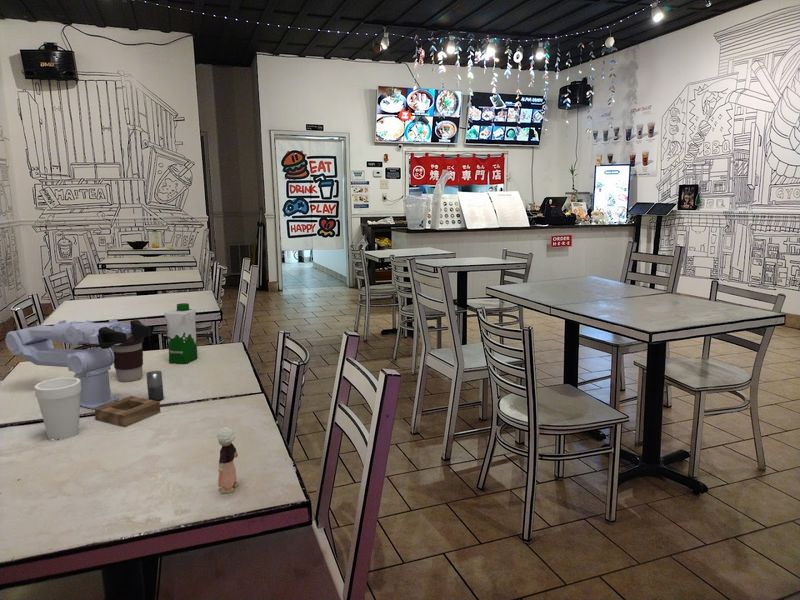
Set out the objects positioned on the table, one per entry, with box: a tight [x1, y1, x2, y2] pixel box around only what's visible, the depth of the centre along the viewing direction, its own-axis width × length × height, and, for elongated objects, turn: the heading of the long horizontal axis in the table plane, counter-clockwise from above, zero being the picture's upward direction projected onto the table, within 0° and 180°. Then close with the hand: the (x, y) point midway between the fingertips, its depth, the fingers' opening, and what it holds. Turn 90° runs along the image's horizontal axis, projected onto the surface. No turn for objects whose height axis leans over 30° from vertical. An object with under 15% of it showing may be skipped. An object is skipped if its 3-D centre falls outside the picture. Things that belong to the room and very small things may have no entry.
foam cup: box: [34, 376, 81, 441], centre depth 137 cm, size 10×9×13 cm
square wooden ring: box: [94, 395, 162, 428], centre depth 150 cm, size 11×11×3 cm
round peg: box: [146, 370, 165, 402], centre depth 161 cm, size 4×4×8 cm
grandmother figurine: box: [216, 427, 239, 494], centre depth 111 cm, size 8×4×13 cm, turn 5°
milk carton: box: [163, 302, 199, 365], centre depth 198 cm, size 9×9×20 cm
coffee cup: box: [111, 335, 145, 383], centre depth 179 cm, size 10×10×15 cm
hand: (138, 334), depth 147 cm, fingers open, 7 cm apart
